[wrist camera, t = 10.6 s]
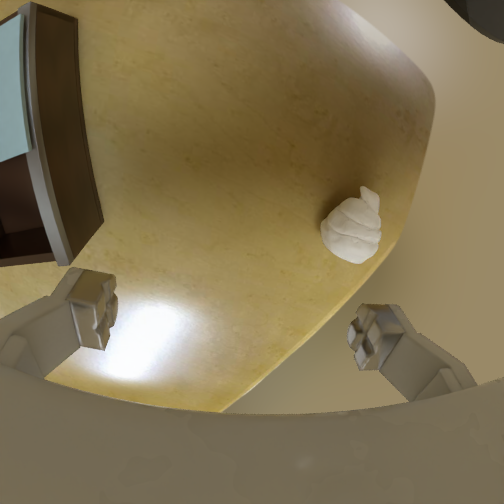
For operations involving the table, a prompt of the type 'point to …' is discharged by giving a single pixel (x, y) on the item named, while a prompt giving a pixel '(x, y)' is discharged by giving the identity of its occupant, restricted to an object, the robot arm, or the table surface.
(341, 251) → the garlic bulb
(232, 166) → the table surface
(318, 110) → the table surface
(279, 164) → the table surface
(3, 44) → the sliding box lid
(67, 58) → the sliding lid box
